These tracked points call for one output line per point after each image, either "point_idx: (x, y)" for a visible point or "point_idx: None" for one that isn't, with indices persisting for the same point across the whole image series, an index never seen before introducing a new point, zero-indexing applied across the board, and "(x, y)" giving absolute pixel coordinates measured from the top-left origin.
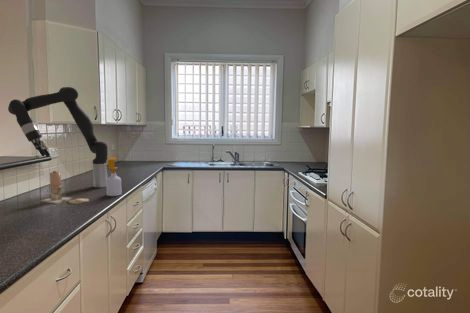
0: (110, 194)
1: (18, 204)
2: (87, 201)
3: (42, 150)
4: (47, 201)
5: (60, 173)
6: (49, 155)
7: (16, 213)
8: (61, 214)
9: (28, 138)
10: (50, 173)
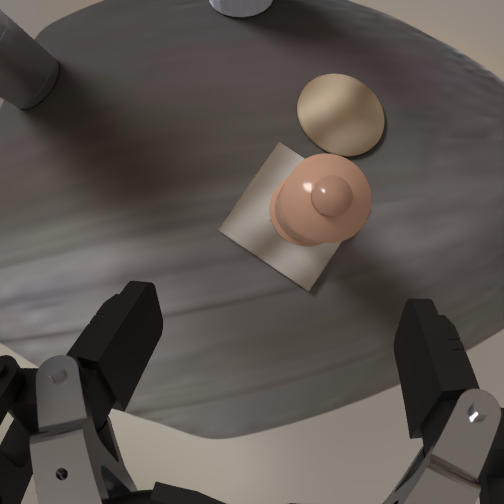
0: (270, 2)
1: (313, 372)
2: (357, 81)
3: (451, 377)
4: (335, 250)
5: (330, 156)
6: (152, 287)
7: (454, 325)
8: (499, 171)
9: None
10: (358, 231)
